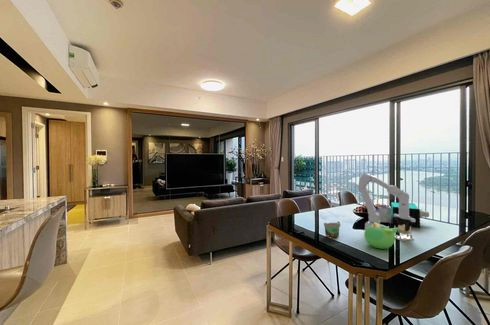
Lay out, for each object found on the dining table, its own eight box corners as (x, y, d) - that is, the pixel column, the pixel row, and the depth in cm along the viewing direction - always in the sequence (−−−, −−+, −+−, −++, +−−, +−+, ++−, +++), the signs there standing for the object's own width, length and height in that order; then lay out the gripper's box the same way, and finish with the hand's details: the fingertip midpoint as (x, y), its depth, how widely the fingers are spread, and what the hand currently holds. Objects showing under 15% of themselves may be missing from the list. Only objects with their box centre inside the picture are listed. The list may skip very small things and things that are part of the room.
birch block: (403, 234, 143) (403, 226, 143) (398, 232, 147) (398, 225, 147) (410, 233, 145) (410, 226, 145) (405, 231, 149) (405, 224, 149)
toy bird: (369, 240, 145) (368, 218, 145) (399, 246, 133) (399, 223, 133) (361, 248, 132) (360, 224, 132) (394, 256, 120) (393, 230, 120)
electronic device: (432, 230, 164) (431, 210, 164) (392, 225, 177) (392, 207, 177) (425, 221, 186) (425, 204, 185) (390, 218, 199) (390, 201, 198)
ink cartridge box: (389, 221, 189) (388, 204, 189) (392, 222, 183) (391, 205, 183) (376, 220, 191) (376, 204, 191) (379, 222, 185) (379, 205, 185)
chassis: (401, 241, 142) (401, 237, 142) (393, 237, 148) (393, 234, 148) (414, 239, 144) (414, 236, 144) (405, 236, 150) (405, 233, 150)
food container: (329, 239, 146) (329, 225, 146) (323, 236, 152) (323, 222, 152) (344, 237, 149) (344, 223, 149) (338, 234, 155) (338, 221, 155)
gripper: (419, 212, 140) (419, 232, 140) (399, 207, 154) (399, 226, 154) (410, 212, 138) (410, 233, 138) (390, 207, 152) (391, 226, 152)
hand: (404, 229), depth 146 cm, fingers closed on birch block, 4 cm apart
